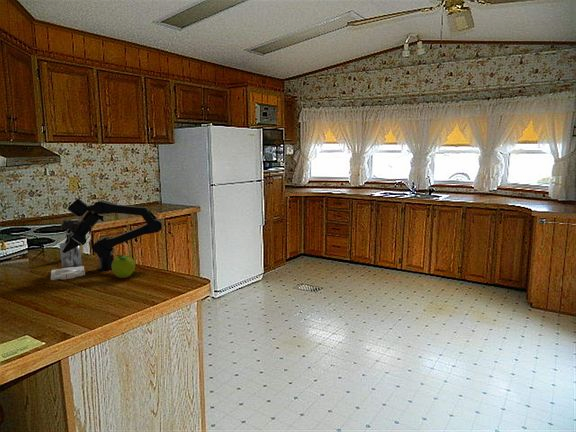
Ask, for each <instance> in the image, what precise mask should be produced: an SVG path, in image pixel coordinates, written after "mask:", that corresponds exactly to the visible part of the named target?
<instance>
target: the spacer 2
mask: <svg viewBox="0 0 576 432" xmlns="http://www.w3.org/2000/svg"><path fill="white" fill-rule="evenodd" d="M72 257H73V265H72V266H71V267H80V266H83V265H82V257H81V252H80V246H78V247H76V248H74V249H72Z"/></svg>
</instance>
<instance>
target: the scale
mask: <svg viewBox="0 0 576 432" xmlns="http://www.w3.org/2000/svg"><path fill="white" fill-rule="evenodd" d="M83 275H84V276H86V272H85V267H84V265H82V266H79V267H72V266H68V267H63V268H57V269H51V271H50V281H56V280H61V281H62V280H69V279H70V280H71V279H75V278H76V277H82V276H83Z"/></svg>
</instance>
